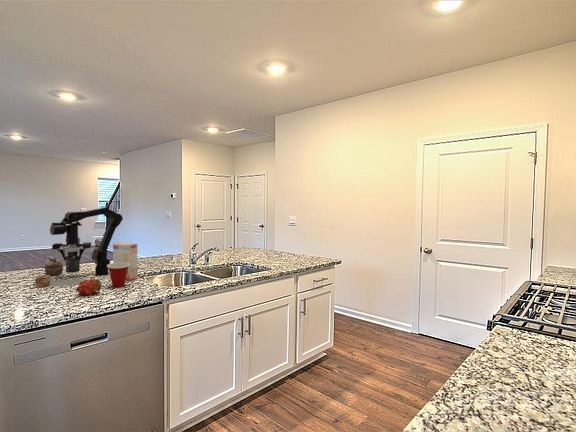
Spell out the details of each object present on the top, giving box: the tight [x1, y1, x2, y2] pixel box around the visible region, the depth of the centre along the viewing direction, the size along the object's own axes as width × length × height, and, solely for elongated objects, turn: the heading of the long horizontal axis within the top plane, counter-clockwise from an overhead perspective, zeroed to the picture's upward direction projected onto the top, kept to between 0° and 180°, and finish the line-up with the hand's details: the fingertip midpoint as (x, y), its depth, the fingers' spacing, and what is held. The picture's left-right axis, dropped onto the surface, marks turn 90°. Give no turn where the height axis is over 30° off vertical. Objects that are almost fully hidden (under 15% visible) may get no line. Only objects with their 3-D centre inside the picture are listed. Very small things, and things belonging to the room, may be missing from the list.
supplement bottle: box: [65, 250, 81, 274], centre depth 195 cm, size 7×7×12 cm
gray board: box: [37, 278, 85, 289], centre depth 181 cm, size 20×14×1 cm
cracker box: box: [112, 242, 138, 281], centre depth 199 cm, size 14×6×21 cm, turn 65°
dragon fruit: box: [75, 277, 102, 296], centre depth 165 cm, size 8×8×12 cm
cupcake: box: [44, 257, 64, 277], centre depth 205 cm, size 10×10×10 cm
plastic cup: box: [107, 262, 129, 288], centre depth 181 cm, size 11×11×12 cm
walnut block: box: [34, 274, 51, 289], centre depth 175 cm, size 5×5×5 cm
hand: (72, 260), depth 195 cm, fingers closed on supplement bottle, 7 cm apart
